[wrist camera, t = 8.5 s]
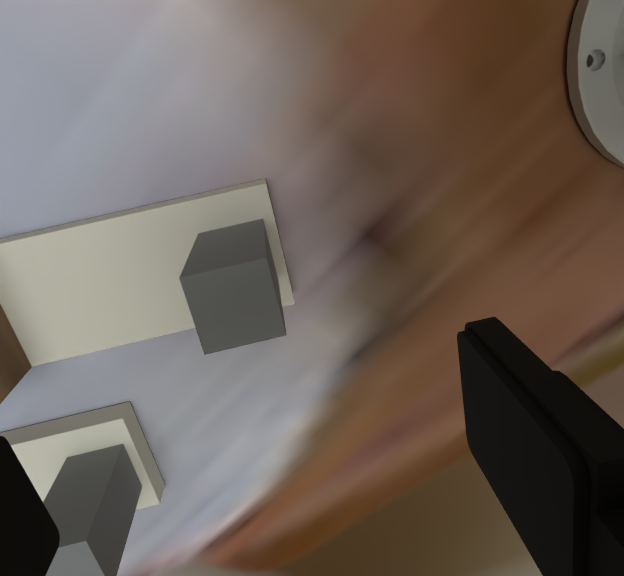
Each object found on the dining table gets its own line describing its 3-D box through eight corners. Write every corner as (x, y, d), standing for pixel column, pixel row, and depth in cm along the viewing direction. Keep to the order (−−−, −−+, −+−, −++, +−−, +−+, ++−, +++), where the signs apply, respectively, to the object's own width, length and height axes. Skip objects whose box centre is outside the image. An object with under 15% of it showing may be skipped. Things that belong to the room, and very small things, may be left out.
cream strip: (265, 178, 22) (270, 211, 15) (292, 293, 25) (308, 366, 18) (-161, 275, 22) (-358, 355, 15) (-93, 384, 24) (-235, 498, 17)
